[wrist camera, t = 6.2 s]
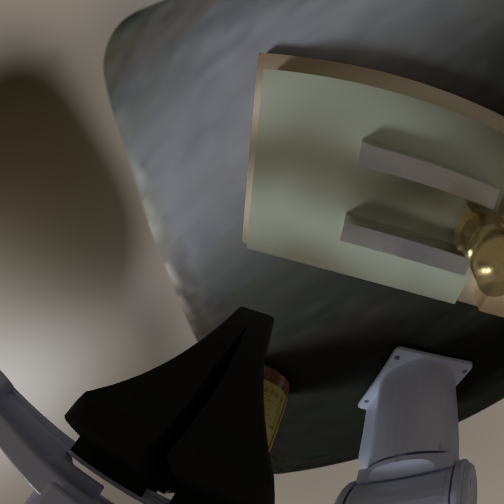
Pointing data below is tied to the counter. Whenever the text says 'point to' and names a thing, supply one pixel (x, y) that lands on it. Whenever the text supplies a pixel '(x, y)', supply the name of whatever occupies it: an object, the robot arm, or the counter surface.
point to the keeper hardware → (406, 240)
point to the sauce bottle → (274, 400)
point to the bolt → (482, 247)
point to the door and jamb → (362, 169)
